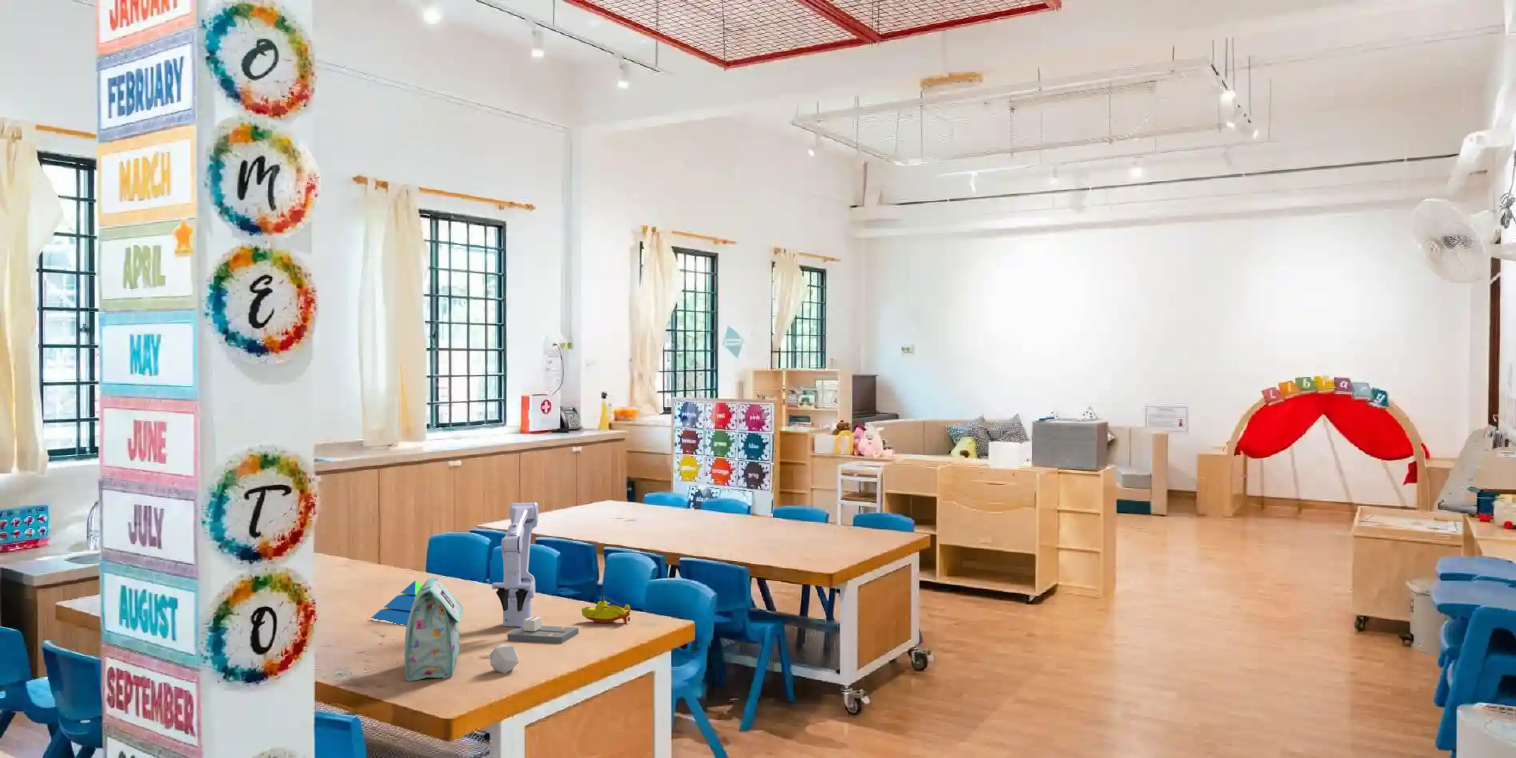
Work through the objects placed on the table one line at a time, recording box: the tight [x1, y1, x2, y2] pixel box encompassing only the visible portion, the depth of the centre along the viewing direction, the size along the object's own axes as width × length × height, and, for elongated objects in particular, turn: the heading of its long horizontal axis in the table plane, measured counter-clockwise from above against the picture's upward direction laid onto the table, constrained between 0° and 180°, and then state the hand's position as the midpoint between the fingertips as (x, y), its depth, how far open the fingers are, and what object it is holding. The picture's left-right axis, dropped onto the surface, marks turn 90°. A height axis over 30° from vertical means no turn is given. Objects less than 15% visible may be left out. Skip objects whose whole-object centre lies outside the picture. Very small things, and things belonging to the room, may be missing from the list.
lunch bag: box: [404, 577, 464, 682], centre depth 301 cm, size 23×16×27 cm
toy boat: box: [581, 594, 631, 624], centre depth 357 cm, size 6×18×10 cm, turn 78°
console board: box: [506, 625, 580, 644], centre depth 338 cm, size 20×13×2 cm, turn 75°
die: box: [489, 642, 520, 675], centre depth 299 cm, size 8×9×10 cm
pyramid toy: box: [370, 580, 423, 627], centre depth 370 cm, size 25×25×14 cm
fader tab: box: [524, 616, 542, 631], centre depth 339 cm, size 4×5×4 cm
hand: (512, 610), depth 341 cm, fingers open, 5 cm apart
